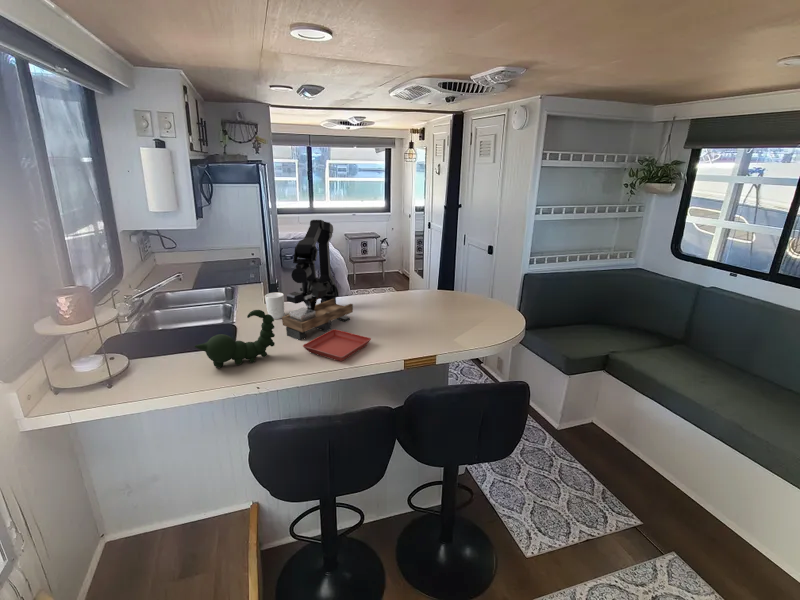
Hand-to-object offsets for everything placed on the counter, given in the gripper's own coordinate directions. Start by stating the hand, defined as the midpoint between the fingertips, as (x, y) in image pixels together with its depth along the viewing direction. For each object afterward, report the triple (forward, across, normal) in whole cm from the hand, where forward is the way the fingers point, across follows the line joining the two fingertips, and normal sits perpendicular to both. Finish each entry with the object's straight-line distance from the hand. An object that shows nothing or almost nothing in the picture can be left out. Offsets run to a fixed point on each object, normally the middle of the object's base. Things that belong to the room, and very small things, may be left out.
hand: (312, 312), depth 168 cm
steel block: (+2, -5, 0) cm, 5 cm away
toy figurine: (+7, -34, -2) cm, 35 cm away
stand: (+7, +3, 0) cm, 8 cm away
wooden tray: (+3, +3, 0) cm, 5 cm away
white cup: (+8, 0, +25) cm, 26 cm away
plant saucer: (+8, -7, -21) cm, 23 cm away
